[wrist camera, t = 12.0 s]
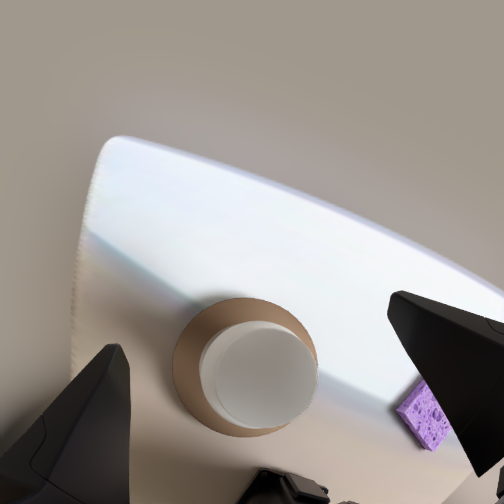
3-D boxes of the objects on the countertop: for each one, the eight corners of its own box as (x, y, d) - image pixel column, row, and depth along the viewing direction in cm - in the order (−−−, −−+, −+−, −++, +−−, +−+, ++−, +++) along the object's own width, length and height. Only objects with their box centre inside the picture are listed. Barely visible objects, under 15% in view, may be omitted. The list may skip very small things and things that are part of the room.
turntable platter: (272, 452, 18) (276, 458, 16) (152, 389, 19) (147, 391, 17) (332, 339, 21) (340, 337, 20) (218, 278, 23) (218, 272, 21)
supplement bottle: (213, 329, 20) (203, 300, 11) (287, 337, 20) (339, 314, 11) (204, 402, 17) (186, 437, 9) (280, 409, 18) (328, 444, 9)
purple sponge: (392, 409, 20) (403, 411, 18) (459, 321, 24) (471, 317, 22) (422, 450, 18) (433, 453, 17) (483, 363, 22) (494, 361, 20)
